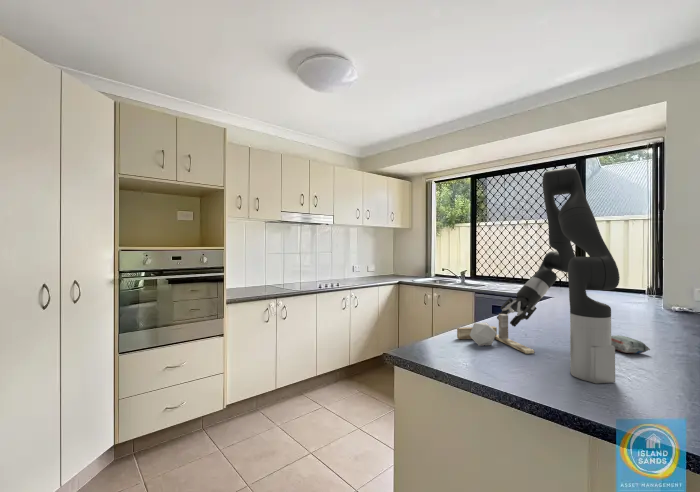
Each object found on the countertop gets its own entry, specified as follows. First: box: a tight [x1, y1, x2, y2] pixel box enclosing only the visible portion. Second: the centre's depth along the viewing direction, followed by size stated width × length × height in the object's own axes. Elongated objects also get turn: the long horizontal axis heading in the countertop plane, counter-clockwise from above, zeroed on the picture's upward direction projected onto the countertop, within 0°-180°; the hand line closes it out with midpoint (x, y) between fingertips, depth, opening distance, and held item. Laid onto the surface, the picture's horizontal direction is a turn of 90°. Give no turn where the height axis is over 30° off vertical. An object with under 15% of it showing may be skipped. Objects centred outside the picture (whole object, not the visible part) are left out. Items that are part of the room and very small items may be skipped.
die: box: [469, 322, 498, 347], centre depth 122 cm, size 8×9×10 cm
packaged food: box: [611, 335, 651, 354], centre depth 114 cm, size 9×12×5 cm
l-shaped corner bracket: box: [456, 313, 535, 355], centre depth 120 cm, size 22×17×10 cm
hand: (505, 322), depth 125 cm, fingers open, 8 cm apart
